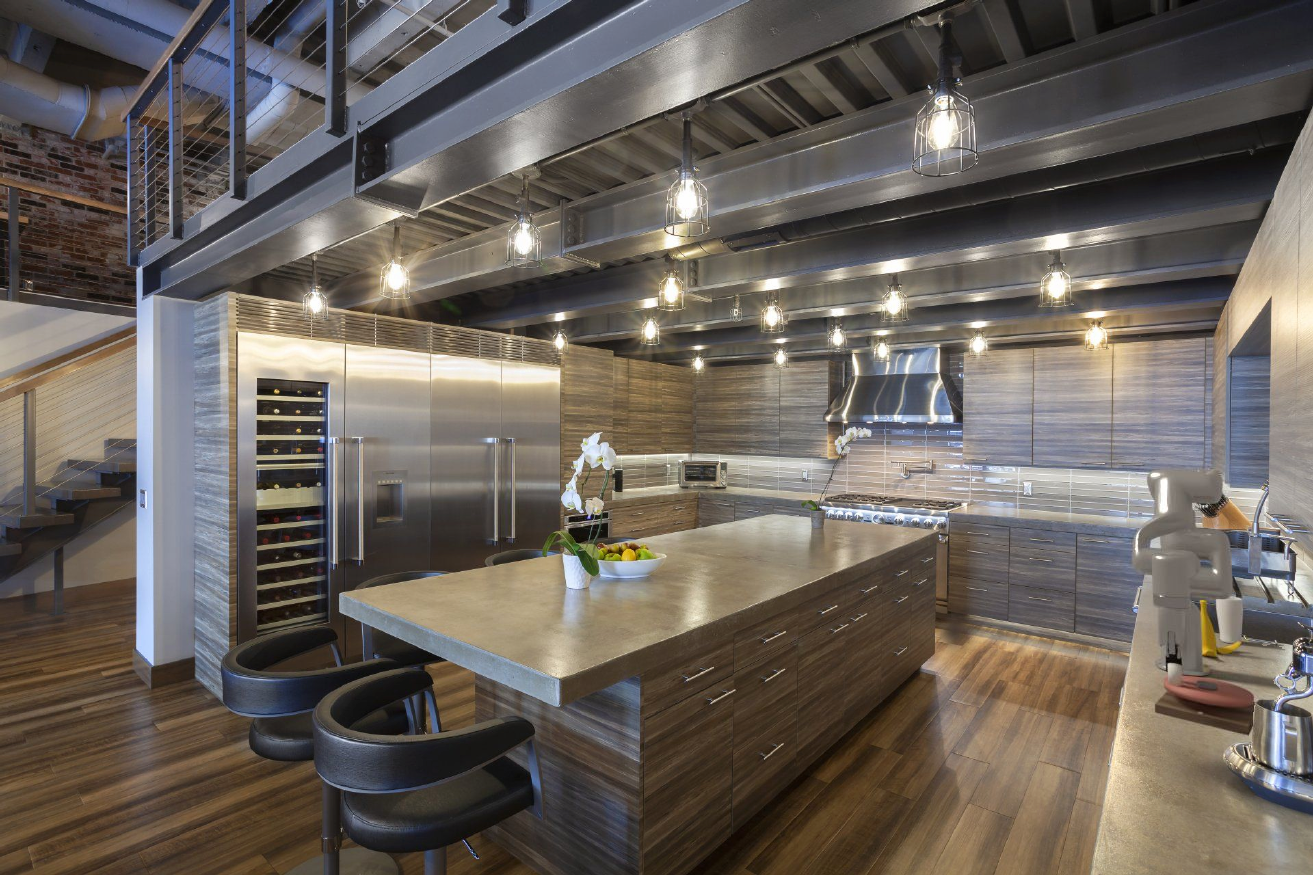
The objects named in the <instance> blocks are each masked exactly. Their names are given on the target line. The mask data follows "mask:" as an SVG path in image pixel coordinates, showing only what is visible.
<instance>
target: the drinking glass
mask: <svg viewBox="0 0 1313 875" xmlns="http://www.w3.org/2000/svg"><path fill="white" fill-rule="evenodd" d="M1215 608H1216V616H1217V622H1218V623H1217V624H1218V629H1219V638H1220V641H1221V642H1224V643H1226V644H1230V645H1233V644H1235V643H1236V642H1238V641H1239V642H1241V643H1242V632H1243V618H1244V604H1243V598H1241V597H1236V596H1233V595H1231V596H1230V597H1229V598H1227V599H1215Z"/></svg>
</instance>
